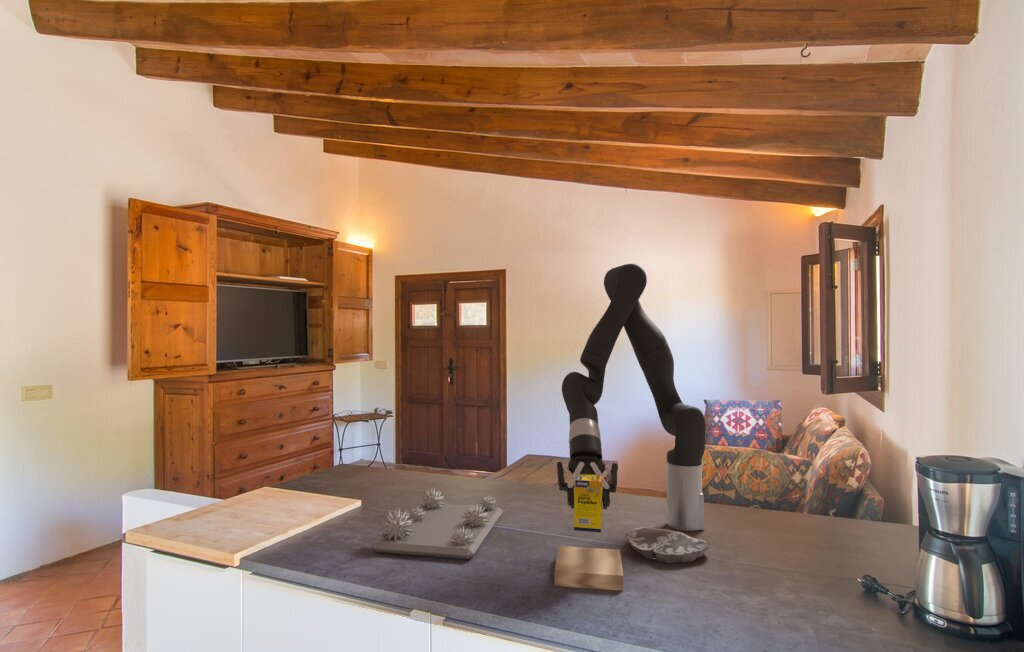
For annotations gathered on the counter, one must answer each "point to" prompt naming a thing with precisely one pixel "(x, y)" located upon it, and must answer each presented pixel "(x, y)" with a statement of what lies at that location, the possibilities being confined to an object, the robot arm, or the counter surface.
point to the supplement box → (588, 502)
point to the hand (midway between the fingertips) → (589, 507)
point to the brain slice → (666, 544)
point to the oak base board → (589, 568)
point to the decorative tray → (438, 528)
